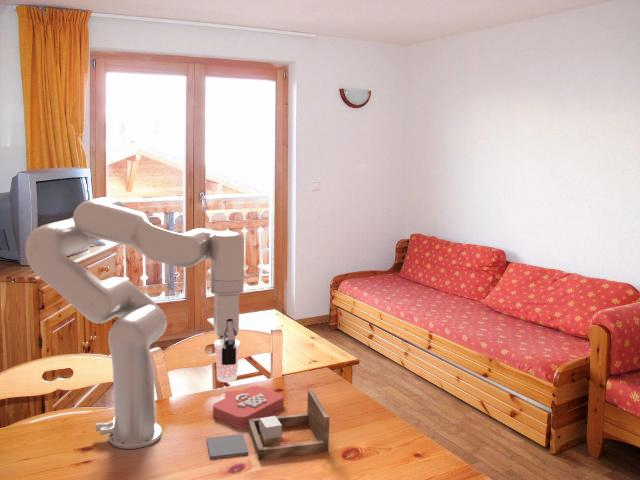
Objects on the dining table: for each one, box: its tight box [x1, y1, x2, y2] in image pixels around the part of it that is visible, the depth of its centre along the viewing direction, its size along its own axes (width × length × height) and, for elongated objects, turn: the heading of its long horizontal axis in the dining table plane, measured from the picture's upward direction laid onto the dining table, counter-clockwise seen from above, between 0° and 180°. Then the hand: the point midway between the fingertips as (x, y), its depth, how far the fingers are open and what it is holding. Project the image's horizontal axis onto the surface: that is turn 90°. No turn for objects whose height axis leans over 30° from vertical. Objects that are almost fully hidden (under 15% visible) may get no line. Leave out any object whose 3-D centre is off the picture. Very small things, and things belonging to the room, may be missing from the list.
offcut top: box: [260, 415, 283, 439], centre depth 149 cm, size 4×5×3 cm
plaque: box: [212, 385, 285, 428], centre depth 168 cm, size 18×4×15 cm
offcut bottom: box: [260, 433, 281, 447], centre depth 150 cm, size 4×6×3 cm, turn 13°
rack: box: [247, 389, 330, 461], centre depth 151 cm, size 17×16×9 cm
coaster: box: [206, 433, 249, 460], centre depth 148 cm, size 9×9×1 cm
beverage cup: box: [213, 333, 241, 383], centre depth 143 cm, size 6×6×14 cm
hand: (227, 358), depth 144 cm, fingers closed on beverage cup, 6 cm apart
